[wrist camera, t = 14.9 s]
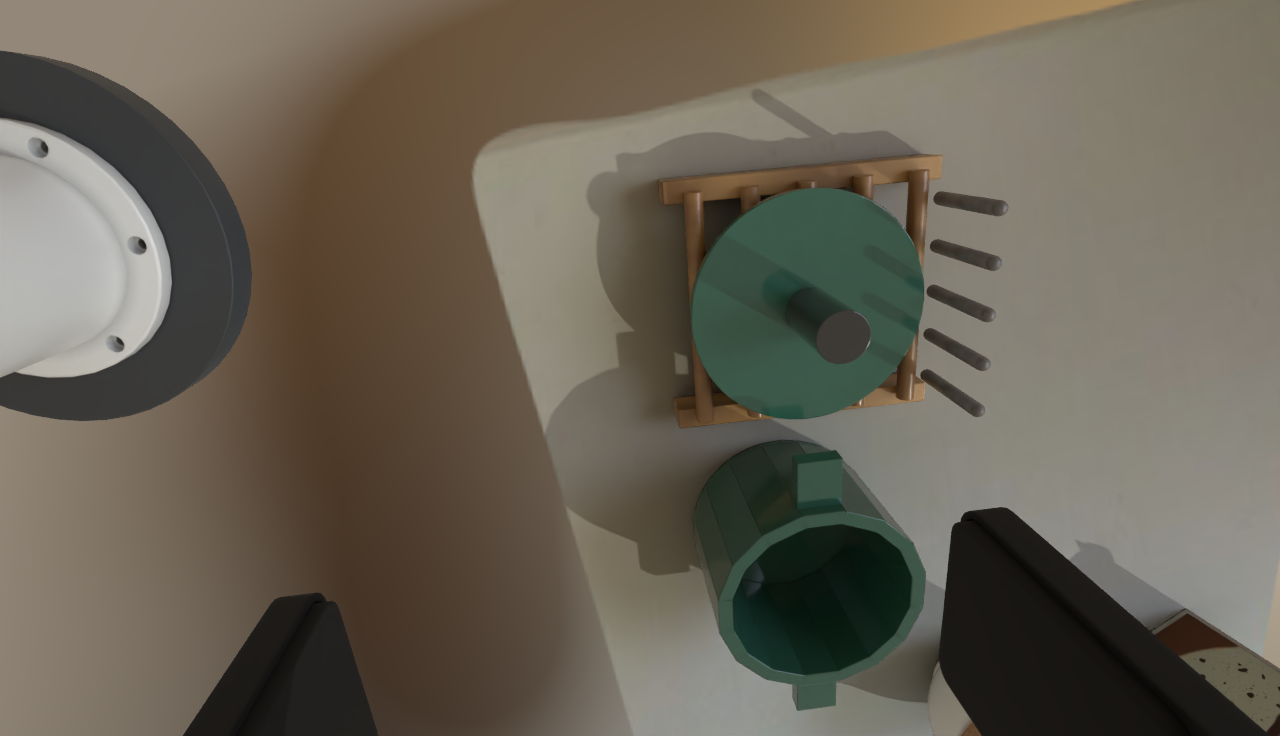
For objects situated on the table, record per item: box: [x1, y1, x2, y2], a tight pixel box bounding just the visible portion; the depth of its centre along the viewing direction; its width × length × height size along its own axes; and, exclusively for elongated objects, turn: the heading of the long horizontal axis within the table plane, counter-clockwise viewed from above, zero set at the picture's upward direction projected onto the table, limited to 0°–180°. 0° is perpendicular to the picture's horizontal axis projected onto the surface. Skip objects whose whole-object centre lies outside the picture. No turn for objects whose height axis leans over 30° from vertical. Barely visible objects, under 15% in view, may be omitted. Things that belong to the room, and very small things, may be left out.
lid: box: [690, 187, 924, 419], centre depth 32 cm, size 13×13×6 cm
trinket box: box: [928, 661, 981, 736], centre depth 45 cm, size 11×11×9 cm
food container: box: [1152, 609, 1280, 736], centre depth 46 cm, size 12×6×10 cm, turn 132°
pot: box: [694, 440, 926, 711], centre depth 39 cm, size 12×17×8 cm
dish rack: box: [658, 154, 1008, 428], centre depth 34 cm, size 15×14×8 cm
